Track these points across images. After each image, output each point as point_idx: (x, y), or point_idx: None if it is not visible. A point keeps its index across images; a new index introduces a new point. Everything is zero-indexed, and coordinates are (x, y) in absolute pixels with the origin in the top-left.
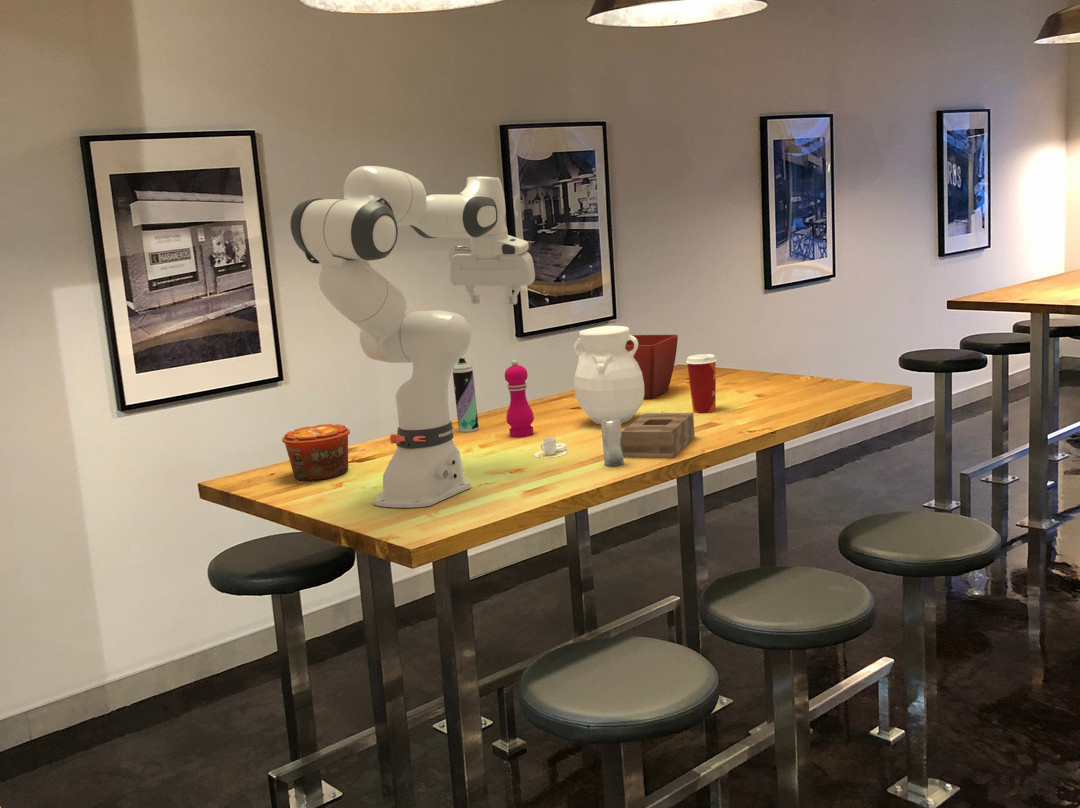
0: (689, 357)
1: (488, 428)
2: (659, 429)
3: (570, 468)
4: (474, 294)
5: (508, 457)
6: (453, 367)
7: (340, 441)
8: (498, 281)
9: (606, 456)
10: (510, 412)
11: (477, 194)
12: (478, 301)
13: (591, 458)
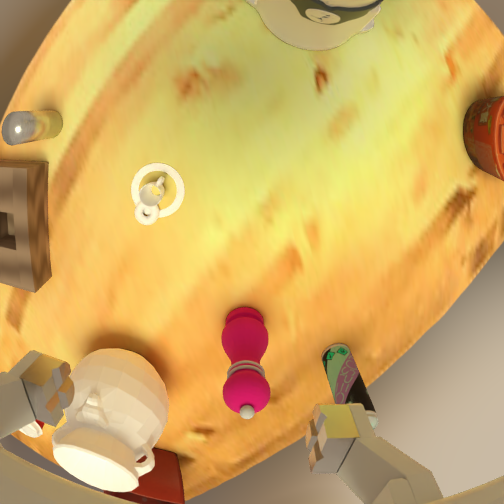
0: (32, 428)
1: (307, 360)
2: None
3: (104, 97)
4: (351, 468)
5: (226, 173)
6: (376, 424)
7: (492, 117)
8: (12, 492)
9: (50, 111)
10: (257, 333)
11: None
12: (314, 428)
13: (86, 156)
